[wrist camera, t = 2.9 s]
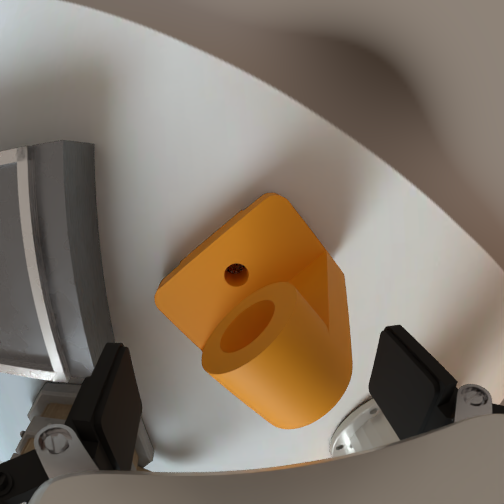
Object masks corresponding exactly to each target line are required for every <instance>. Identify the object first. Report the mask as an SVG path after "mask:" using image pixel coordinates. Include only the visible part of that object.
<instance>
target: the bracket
mask: <svg viewBox="0 0 504 504" xmlns="http://www.w3.org/2000/svg"><path fill="white" fill-rule="evenodd" d="M235 263H238V264H242V265H244V266H245V267H244V269H243V270H242V271H241V272H239V273H230V272H228V271H227V270H226V268H227V267H228V266H230V265H232V264H235ZM155 304H156V306H157V308H158V309H159V310H160V311H161V312H162V313H163V314H164V315H165V316H166V317H167V318H168V319H169V320H170V321H171V322H172V323H173V324H174V325H175V326H176V327H177V328H178V329H179V330H181V331H182V332H183V333H184V334H185V335H186V336H187V337H188V338H189V339H190V340H191V341H192V342H193V343H194V344H195V345H196V346H197V347H199V348H200V349H201V350H202V352H203V353H202V366H203V368H204V370H205V371H206V372H207V373H209V374H210V375H211V376H212V377H213V378H214V379H216V380H217V381H218V382H219V383H220V384H222V385H223V386H224V387H225V388H226V389H228V390H229V391H230V392H231V393H232V394H234V395H235V396H236V397H237V398H239V399H240V400H241V401H242V402H244V403H245V404H246V405H247V406H249V407H250V408H251V409H252V410H254V411H255V412H256V413H258V414H259V415H260V416H262V417H263V418H264V419H265V420H267V421H268V422H269V423H271V424H272V425H274V426H275V427H278V428H282V429H295V428H300V427H303V426H306V425H309V424H311V423H313V422H315V421H316V420H318V419H320V418H321V417H322V416H324V415H325V414H326V413H328V412H329V411H330V410H331V409H332V408H333V407H334V406H335V405H336V404H337V402H338V401H339V400H340V399H341V397H342V396H343V394H344V392H345V391H346V389H347V387H348V385H349V382H350V379H351V375H352V350H351V337H350V326H349V315H348V305H347V295H346V286H345V278H344V274H343V272H342V271H341V269H340V268H339V267H338V265H337V264H336V263H335V261H334V260H333V259H332V257H331V256H330V254H329V253H328V252H327V250H326V249H325V248H324V246H323V245H322V244H321V242H320V241H319V240H318V238H317V237H316V236H315V235H314V233H313V232H312V231H311V229H310V228H309V227H308V225H307V224H306V223H305V221H304V220H303V219H302V218H301V216H300V215H299V214H298V212H297V211H296V210H295V209H294V207H293V206H292V205H291V203H290V202H289V201H288V200H287V199H286V198H284V197H282V196H280V195H278V194H276V193H266V194H264V195H262V196H261V197H260V198H258V199H257V200H256V201H255V202H253V203H252V204H251V205H250V206H249V207H247V208H246V209H245V210H244V211H243V210H241V211H240V212H239V213H237V214H236V215H235V216H234V217H233V218H231V219H230V220H229V221H228V222H227V223H225V224H224V225H223V226H222V227H221V228H219V229H218V230H217V231H216V232H215V233H214V234H212V235H211V236H210V237H209V238H208V239H206V240H205V241H204V242H203V243H202V244H201V245H199V246H198V247H197V248H196V249H195V250H194V251H192V252H191V253H190V254H189V255H188V256H187V257H185V258H184V259H183V260H182V261H181V262H180V265H179V266H178V267H177V268H175V269H174V270H173V271H172V272H171V273H170V274H168V275H167V276H166V277H165V278H164V279H163V280H162V281H161V283H160V285H159V287H158V289H157V292H156V294H155Z"/></svg>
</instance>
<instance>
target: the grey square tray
mask: <svg viewBox="0 0 504 504" xmlns="http://www.w3.org/2000/svg"><path fill="white" fill-rule="evenodd" d="M106 343H115V340H114V336H113V331H112V325H111V320H110V315H109V309H108V303H107V297H106V290H105V284H104V277H103V269H102V262H101V253H100V244H99V234H98V223H97V210H96V194H95V169H94V144H90V143H82V142H74V141H66V140H61V141H55V142H49V143H43V144H38V145H33V146H24V147H19V148H14V149H9V150H5V151H1V152H0V372H2V373H7V374H13V375H18V376H24V377H30V378H36V379H42V380H49V381H57V382H64V383H68V381H69V379H70V377H78V378H86V377H90V376H91V374H92V372H93V370H94V368H95V366H96V363H97V361H98V359H99V357H100V355H101V353H102V351H103V349H104V347H105V344H106Z"/></svg>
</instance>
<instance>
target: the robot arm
mask: <svg viewBox="0 0 504 504" xmlns="http://www.w3.org/2000/svg"><path fill="white" fill-rule="evenodd" d="M456 385H457V381H456V380H455V379H454V378H453V376H452V375H451V374H450V373H449V372H448V371H447V370H446V369H445V368H444V367H443V366H442V365H441V364H440V363H439V362H438V361H437V360H436V359H435V358H434V357H433V356H432V355H431V354H430V353H429V352H428V351H427V350H426V349H425V348H424V347H423V346H422V345H421V344H420V343H419V342H418V341H416V340H415V339H414V338H413V337H412V336H411V335H410V334H409V333H408V332H407V331H406V330H405V329H404V328H403V327H402V326H401V325H394V326H387V327H385V329H384V331H382V332H381V334H380V339H379V343H378V348H377V352H376V357H375V361H374V365H373V370H372V374H371V378H370V382H369V392H370V394H371V395H372V397H373V399H371V400H370V401H368V402H366V403H365V404H363V405H362V406H360V407H359V408H358V409H356V410H355V411H354V412H352V413H351V414H350V415H349V416H348V417H347V418H346V419H345V420H344V421H343V422H342V423H341V425H340V426H339V427H338V428H337V430H336V431H335V433H334V435H333V437H332V439H331V442H330V454H331V457H332V458H328V459H322V460H317V461H311V462H305V463H299V464H293V465H285V466H278V467H269V468H260V469H250V470H237V471H220V472H144V471H131V466H132V461H133V455H134V449H135V444H136V438H137V433H138V428H139V423H140V418H141V413H142V403H141V399H140V395H139V391H138V387H137V383H136V379H135V375H134V371H133V366H132V362H131V357H130V352H129V349H128V347H124V345H123V344H122V343H106V344H105V347H104V349H103V351H102V353H101V355H100V357H99V359H98V361H97V363H96V366H95V368H94V370H93V372H92V374H91V376H90V377H86V378H85V379H84V381H83V383H82V385H81V387H80V390H79V392H78V394H77V396H76V398H75V401H74V403H73V405H72V407H71V410H70V412H69V414H68V417H67V419H66V421H65V424H64V425H62V424H52V425H48V426H46V427H44V428H42V429H41V430H40V431H39V432H38V433H37V434H36V436H35V438H34V447H35V449H34V450H31V451H29V452H27V453H25V454H22V455H20V456H18V457H15V458H13V459H11V460H8V461H6V462H4V463H1V464H0V504H504V406H501V405H497V404H492V398H491V395H490V393H489V392H488V391H487V390H486V389H485V388H483V387H481V386H479V385H475V384H467V385H463V386H461V387H460V388H459V389H457V388H456Z"/></svg>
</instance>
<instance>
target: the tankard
mask: <svg viewBox="0 0 504 504" xmlns="http://www.w3.org/2000/svg"><path fill="white" fill-rule="evenodd" d="M80 387H81V385H73V384H59V383H47V382H46V383H45V385H44V386H43V388H42V389H41V391H40V393H39V395H38V396H37V398H36V400H35V402H34V404H33V405H32V407H31V409H30V411H29V413H28V415H27V416H28V418H29V420H30V421H31V422H30V424H29V426H28V428H27V429H26V431H21V432H20V435H21V437H22V439H21V440H20V442H19V444H18V446H17V448H16V452H17V453H13V455H12V457H11V459H13V458H15V457H18V456H20V455H22V454H25V453H27V452H29V451H31V450H34V449H35V447H34V438H35V436H36V434H37V433H38V432H39V431H40V430H41V429H42V428H44V427H46V426H48V425H52V424H62V425H64V424H65V421H66V419H67V417H68V414H69V412H70V410H71V407H72V405H73V403H74V401H75V398H76V396H77V394H78V392H79V390H80ZM153 456H154V450H153V447H152V445H151V442H150V440H149V437H148V435H147V432H146V429H145V427H144V424H143V421H142V418H140V423H139V428H138V433H137V438H136V444H135V449H134V455H133V461H132V466H131V471H144V472H151V471H149V470H147V469H144V467H145V466H146V465H147V464H149V463H150V462H151V461H153ZM11 459H10V460H11Z"/></svg>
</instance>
